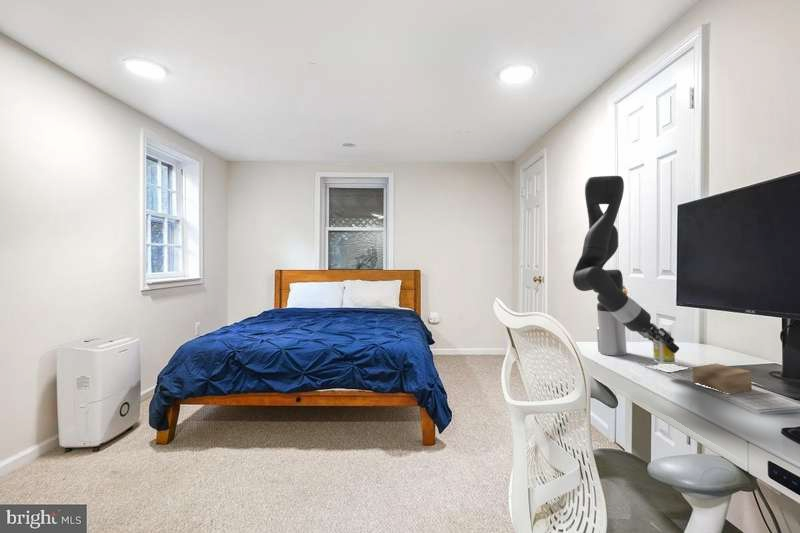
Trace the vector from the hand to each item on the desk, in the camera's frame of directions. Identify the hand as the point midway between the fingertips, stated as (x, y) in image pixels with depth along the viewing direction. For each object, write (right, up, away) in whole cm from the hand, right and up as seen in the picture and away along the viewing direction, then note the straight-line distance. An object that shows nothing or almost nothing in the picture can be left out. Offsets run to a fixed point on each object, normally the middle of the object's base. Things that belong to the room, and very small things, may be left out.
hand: (669, 348), depth 116 cm
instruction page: (+6, -9, +9) cm, 14 cm away
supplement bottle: (-1, -5, 0) cm, 5 cm away
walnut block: (+7, -9, -11) cm, 15 cm away
